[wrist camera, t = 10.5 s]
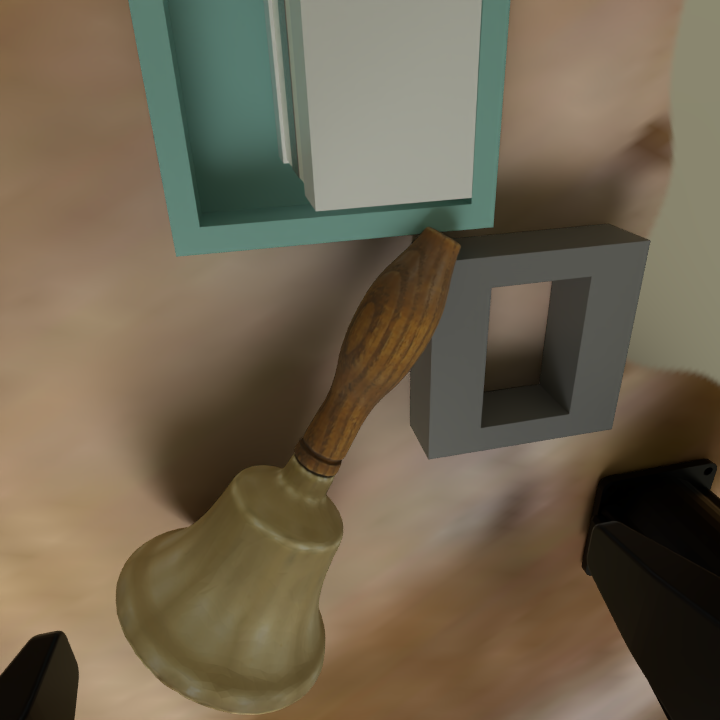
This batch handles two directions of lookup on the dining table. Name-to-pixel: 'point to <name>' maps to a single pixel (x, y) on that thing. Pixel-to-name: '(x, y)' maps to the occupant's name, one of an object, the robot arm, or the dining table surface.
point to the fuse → (375, 98)
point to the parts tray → (273, 135)
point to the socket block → (561, 348)
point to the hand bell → (278, 523)
